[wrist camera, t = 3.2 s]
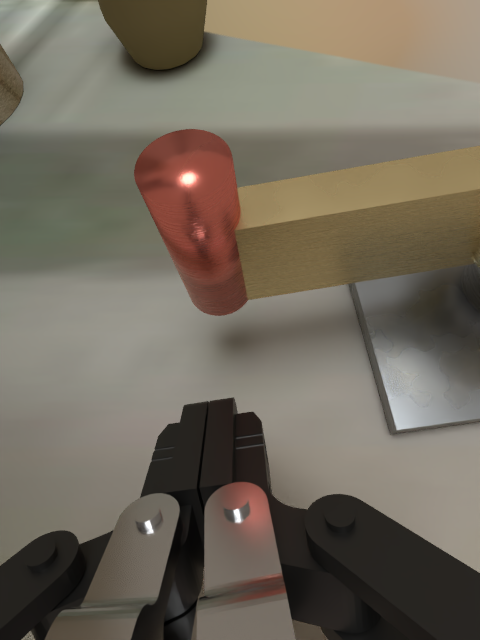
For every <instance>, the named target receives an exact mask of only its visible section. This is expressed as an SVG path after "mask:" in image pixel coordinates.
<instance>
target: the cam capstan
mask: <svg viewBox="0 0 480 640" xmlns="http://www.w3.org/2000/svg"><path fill="white" fill-rule="evenodd" d="M134 176H135V181H136V184H137V186H138V188H139V190H140V192H141V195H142V197H143V199H144V201H145V203H146V205H147V207H148V209H149V211H150V213H151V216H152V218H153V220H154V222H155V224H156V226H157V228H158V230H159V232H160V235H161V237H162V239H163V241H164V243H165V245H166V247H167V249H168V251H169V253H170V256H171V258H172V260H173V262H174V264H175V266H176V268H177V270H178V272H179V275H180V277H181V279H182V281H183V283H184V285H185V287H186V289H187V291H188V294H189V296H190V298H191V300H192V302H193V303H194V305H195V306H196V307H197V308H198V309H199V310H201V311H202V312H204V313H207V314H210V315H215V316H221V315H227V314H230V313H233V312H235V311H237V310H238V309H240V308H241V307H242V306H243V305H244V304H245V303H246V302H247V301H248V300H251V299H257V298H263V297H270V296H276V295H282V294H288V293H295V292H301V291H307V290H313V289H319V288H326V287H332V286H338V285H344V284H351V283H357V282H363V281H369V280H376V279H382V278H388V277H394V276H400V275H407V274H413V273H419V272H425V271H432V270H438V269H444V268H450V267H457V266H463V265H469V264H476V265H477V266H478V267H479V268H480V146H476V147H470V148H464V149H458V150H453V151H447V152H441V153H435V154H429V155H424V156H418V157H412V158H406V159H401V160H395V161H389V162H383V163H378V164H372V165H366V166H360V167H355V168H349V169H343V170H337V171H332V172H326V173H320V174H314V175H309V176H303V177H297V178H291V179H286V180H280V181H274V182H268V183H263V184H257V185H251V186H245V187H240V188H237V184H236V177H235V171H234V165H233V159H232V154H231V151H230V148H229V147H228V145H227V144H226V143H225V141H224V140H223V139H221V138H220V137H219V136H217V135H215V134H213V133H210V132H207V131H204V130H197V129H186V130H179V131H175V132H171V133H168V134H166V135H164V136H162V137H160V138H158V139H156V140H155V141H153V142H152V143H151V144H150V145H148V146H147V147H146V148H145V149H144V150H143V152H142V153H141V154H140V156H139V158H138V160H137V162H136V165H135V170H134Z"/></svg>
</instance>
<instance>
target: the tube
mask: <svg viewBox="0 0 480 640" xmlns="http://www.w3.org/2000/svg"><path fill="white" fill-rule="evenodd" d="M22 94H23V81H22V79H21V77H20V75H19V73H18V72H17V70H16V68H15V67H14V65H13V64H12V62H11V60H10V59H9V57H8V56H7V54H6V52H5V51H4V49H3V48H2V46H1V45H0V125H1V124H2V123H3V122H4V121H5V120H6V119H7V118H8V117H9V116H10V115H11V114H12V113H13V112H14V110H15V109H16V107H17V106H18V104H19V103H20V100H21V97H22Z"/></svg>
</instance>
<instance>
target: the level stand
mask: <svg viewBox="0 0 480 640" xmlns="http://www.w3.org/2000/svg"><path fill="white" fill-rule="evenodd" d="M349 286H350V290H351V293H352V297H353V301H354V304H355V308H356V312H357V315H358V319H359V322H360V326H361V330H362V333H363V337H364V340H365V344H366V348H367V351H368V355H369V358H370V362H371V366H372V369H373V373H374V376H375V380H376V384H377V387H378V391H379V395H380V398H381V402H382V405H383V409H384V413H385V416H386V420H387V423H388V427H389V431H390V434H397V433H404V432H411V431H418V430H425V429H432V428H439V427H446V426H453V425H460V424H467V423H474V422H480V268H479V267H478V266H477V265H476V264H469V265H463V266H457V267H450V268H444V269H438V270H432V271H425V272H419V273H413V274H407V275H400V276H394V277H388V278H382V279H376V280H369V281H363V282H357V283H351V284H349Z"/></svg>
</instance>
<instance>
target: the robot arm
mask: <svg viewBox="0 0 480 640" xmlns="http://www.w3.org/2000/svg"><path fill="white" fill-rule="evenodd" d="M203 568H204V593H203V589H202V580H203ZM292 619H293V620H297V621H301V622H305V623H309V624H313V625H317V626H320V627H321V629H322V631H323V633H324V635H325V636H326V637H327V639H328V640H480V573H479V572H477V571H475V570H474V569H472V568H470V567H469V566H467V565H466V564H464V563H462V562H461V561H459V560H457V559H456V558H454V557H453V556H451V555H449V554H448V553H446V552H444V551H443V550H441V549H439V548H438V547H436V546H435V545H433V544H431V543H430V542H428V541H426V540H425V539H423V538H422V537H420V536H418V535H417V534H415V533H413V532H412V531H410V530H409V529H407V528H405V527H404V526H402V525H400V524H399V523H397V522H396V521H394V520H392V519H391V518H389V517H387V516H386V515H384V514H382V513H381V512H379V511H378V510H376V509H374V508H373V507H371V506H369V505H368V504H366V503H365V502H363V501H361V500H359V499H357V498H355V497H352V496H349V495H343V494H333V495H327V496H324V497H322V498H320V499H318V500H316V501H315V502H314V503H313V504H312V505H311V506H310V507H309V508H308V510H306V509H299V508H294V507H290V506H287V505H285V504H283V503H281V502H279V501H278V500H277V499H276V498H275V497H274V496H273V495H272V490H271V481H270V472H269V463H268V457H267V451H266V446H265V440H264V434H263V428H262V422H261V420H260V419H259V418H258V417H257V415H256V414H255V413H254V412H247V413H241V414H238V413H237V407H236V403H235V399H234V398H227V399H220V400H214V401H210V403H209V402H208V401H207V402H201V403H194V404H187V405H184V407H183V411H182V416H181V420H180V423H173V424H168V425H167V427H166V428H165V429H164V430H163V431H162V433H161V434H160V435H159V436H158V439H157V443H156V446H155V451H154V453H153V456H152V462H151V463H150V466H149V470H148V473H147V476H146V480H145V483H144V486H143V490H142V493H141V497H140V498H139V499H138V500H136V501H134V502H133V503H131V504H130V505H129V506H128V507H127V508H126V509H125V510H124V511H123V513H122V514H121V515H120V517H119V519H118V521H117V524H116V526H115V528H114V530H113V531H111V532H109V533H107V534H104V535H102V536H100V537H97V538H95V539H92V540H90V541H87V542H85V543H82V544H79V542H78V540H77V537H76V536H75V535H74V534H73V533H71V532H69V531H54V532H50V533H47V534H45V535H43V536H40V537H38V538H37V539H35V540H33V541H32V542H31V543H29V544H28V545H27V546H25V547H24V548H23V549H21V550H20V551H19V552H18V553H16V554H15V555H14V556H12V557H11V558H10V559H9V560H7V561H6V562H5V563H3V564H2V565H1V566H0V640H21V639H22V638H23V637H24V636H25V635H26V634H27V633H28V632H29V631H30V630H31V632H32V634H33V636H34V638H35V640H296V639H295V633H294V628H293V623H292Z"/></svg>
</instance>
